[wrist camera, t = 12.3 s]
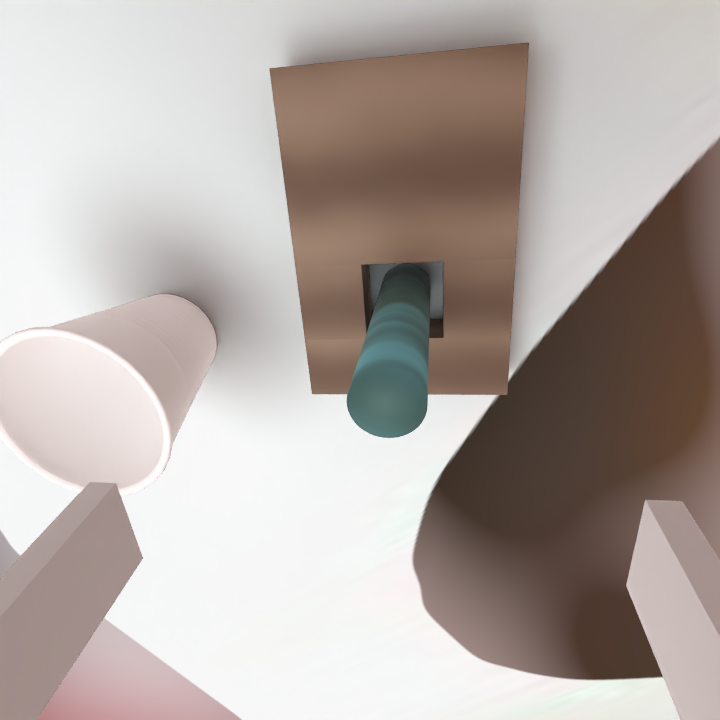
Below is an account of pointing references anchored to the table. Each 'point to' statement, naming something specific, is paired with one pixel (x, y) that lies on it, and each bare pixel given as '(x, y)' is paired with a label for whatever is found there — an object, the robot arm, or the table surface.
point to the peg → (394, 357)
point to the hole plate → (406, 201)
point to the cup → (104, 391)
